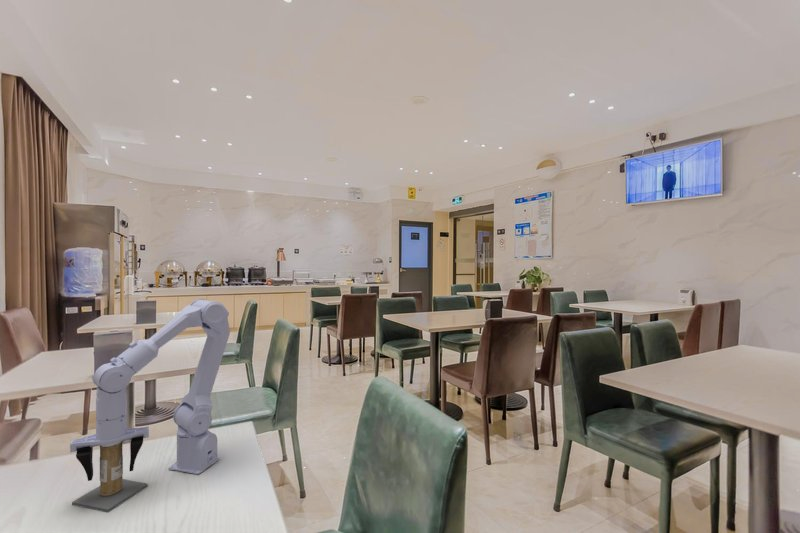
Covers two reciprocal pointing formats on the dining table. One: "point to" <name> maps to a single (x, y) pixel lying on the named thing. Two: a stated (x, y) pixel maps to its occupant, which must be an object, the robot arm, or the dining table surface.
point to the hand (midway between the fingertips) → (111, 473)
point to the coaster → (111, 501)
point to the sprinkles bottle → (111, 468)
